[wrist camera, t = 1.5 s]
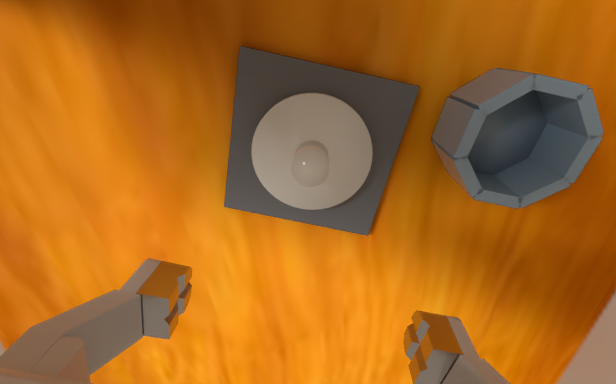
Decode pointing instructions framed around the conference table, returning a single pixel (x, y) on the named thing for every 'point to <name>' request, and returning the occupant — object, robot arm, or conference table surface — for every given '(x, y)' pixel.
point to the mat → (322, 79)
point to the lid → (312, 151)
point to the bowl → (517, 136)
